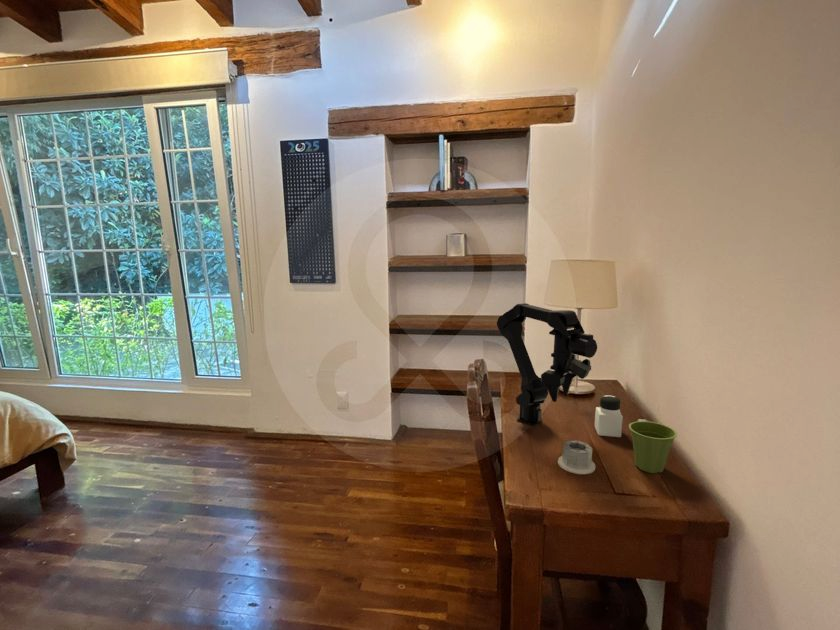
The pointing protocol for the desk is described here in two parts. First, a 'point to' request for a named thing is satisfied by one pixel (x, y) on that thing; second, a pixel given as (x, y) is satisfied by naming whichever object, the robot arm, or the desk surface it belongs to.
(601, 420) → the medicine bottle
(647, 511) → the desk surface
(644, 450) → the plant pot
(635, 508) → the desk surface
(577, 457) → the ring
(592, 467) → the hub post
